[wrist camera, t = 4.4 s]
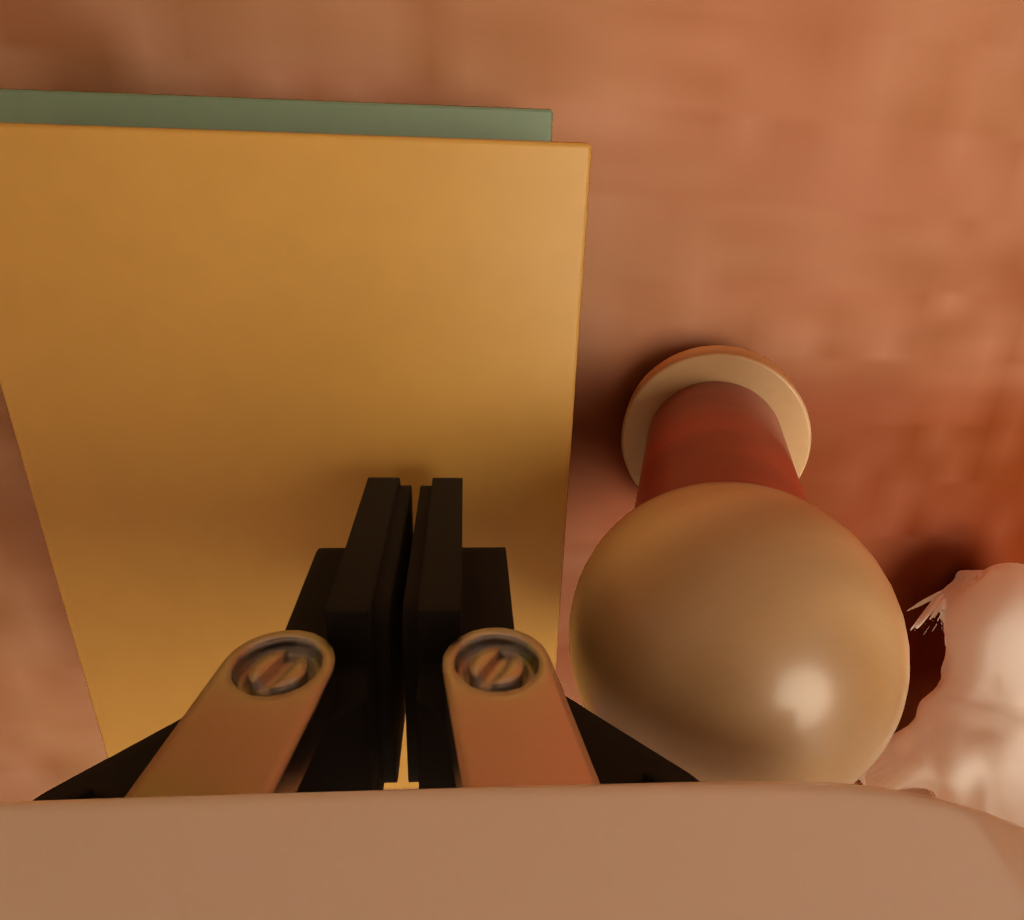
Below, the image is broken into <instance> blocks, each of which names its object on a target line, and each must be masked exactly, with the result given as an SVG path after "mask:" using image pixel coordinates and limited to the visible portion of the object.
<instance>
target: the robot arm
mask: <svg viewBox="0 0 1024 920" xmlns="http://www.w3.org/2000/svg"><path fill="white" fill-rule="evenodd" d="M462 510H463V478H433V479H432V486H425V485H421V486H420V493H419V499H418V506H417V513H416V520H415V526H414V533H413V505H412V487H411V485H401V483H400V478H398V477H369V478H368V479H367V483H366V486H365V489H364V492H363V495H362V498H361V501H360V504H359V507H358V510H357V513H356V516H355V520H354V523H353V526H352V529H351V532H350V535H349V538H348V541H347V544H346V547H345V548H319V549H318V550H317V552H316V554H315V556H314V559H313V561H312V564H311V566H310V569H309V571H308V574H307V576H306V579H305V581H304V584H303V586H302V589H301V591H300V594H299V597H298V599H297V602H296V604H295V607H294V609H293V612H292V614H291V617H290V619H289V622H288V624H287V627H286V629H285V630H282V631H277V632H272V633H267V634H264V635H261V636H259V637H256V638H253V639H251V640H249V641H247V642H245V643H244V644H242V645H241V646H239V647H237V648H236V649H234V650H233V651H232V653H231V654H230V655H229V656H228V657H227V658H226V659H225V660H224V661H223V662H222V664H221V665H220V666H219V668H218V669H217V671H216V672H215V673H214V675H213V676H212V677H211V679H210V680H209V682H208V683H207V684H206V686H205V687H204V688H203V690H202V691H201V693H200V694H199V695H198V697H197V698H196V699H195V701H194V702H193V704H192V705H191V706H190V708H189V709H188V710H187V712H186V713H185V715H184V716H183V717H182V718H181V719H179V720H177V721H176V722H174V723H172V724H170V725H168V726H166V727H165V728H163V729H161V730H159V731H157V732H155V733H154V734H152V735H150V736H148V737H146V738H144V739H143V740H141V741H139V742H137V743H135V744H133V745H131V746H130V747H128V748H126V749H124V750H122V751H120V752H119V753H117V754H115V755H113V756H111V757H109V758H108V759H106V760H104V761H102V762H100V763H98V764H97V765H95V766H93V767H91V768H89V769H87V770H85V771H84V772H82V773H80V774H78V775H76V776H74V777H73V778H71V779H69V780H67V781H65V782H63V783H62V784H60V785H58V786H56V787H54V788H52V789H51V790H49V791H47V792H45V793H43V794H42V795H40V796H39V797H37V798H36V799H34V800H33V801H14V802H0V920H1024V827H1022V826H1019V825H1017V824H1015V823H1013V822H1010V821H1008V820H1005V819H1002V818H1000V817H997V816H994V815H991V814H989V813H986V812H983V811H980V810H977V809H973V808H970V807H966V806H963V805H959V804H956V803H952V802H949V801H945V800H942V799H938V798H935V797H931V796H928V795H922V794H917V793H911V792H906V791H900V790H894V789H889V788H883V787H878V786H868V785H857V784H845V783H833V782H787V781H707V782H700V781H699V780H697V779H696V778H695V777H694V776H692V775H691V774H690V773H688V772H686V771H685V770H683V769H682V768H680V767H678V766H677V765H675V764H674V763H672V762H670V761H669V760H667V759H666V758H664V757H662V756H661V755H659V754H658V753H656V752H654V751H653V750H651V749H650V748H648V747H646V746H645V745H643V744H642V743H640V742H638V741H637V740H635V739H634V738H632V737H630V736H629V735H627V734H625V733H624V732H622V731H621V730H619V729H617V728H616V727H614V726H613V725H611V724H609V723H608V722H606V721H605V720H603V719H601V718H600V717H598V716H597V715H595V714H593V713H592V712H590V711H589V710H587V709H585V708H584V707H582V706H581V705H579V704H577V703H576V702H574V701H573V700H571V699H569V698H568V697H566V696H565V694H564V691H563V689H562V686H561V684H560V681H559V679H558V676H557V674H556V671H555V669H554V666H553V664H552V661H551V659H550V656H549V654H548V653H547V651H546V650H545V648H544V647H543V645H542V644H541V643H539V642H538V641H537V640H536V639H534V638H533V637H532V636H529V635H527V634H525V633H522V632H520V631H517V630H514V621H513V611H512V602H511V592H510V583H509V573H508V564H507V554H506V548H505V547H462ZM405 714H406V736H407V762H408V781H409V782H419V789H402V790H383V789H384V783H397V781H398V775H399V767H400V758H401V749H402V740H403V731H404V722H405Z"/></svg>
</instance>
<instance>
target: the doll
mask: <svg viewBox="0 0 1024 920" xmlns="http://www.w3.org/2000/svg"><path fill="white" fill-rule="evenodd" d="M621 446H622V454H623V458H624V462H625V465H626V467H627V470H628V472H629V474H630V476H631V478H632V479H633V481H634V483H635V484H636V485H637V487H638V492H637V498H636V503H635V509H634V510H632V511H631V512H629V513H628V514H627V515H626V516H624V517H623V518H622V519H621V520H620V521H618V522H617V523H616V524H615V525H614V526H613V527H612V528H611V529H610V530H609V531H608V533H607V534H606V535H605V536H604V537H603V539H602V540H601V541H600V542H599V544H598V545H597V546H596V548H595V550H594V551H593V553H592V555H591V556H590V558H589V560H588V561H587V563H586V565H585V567H584V569H583V571H582V574H581V576H580V578H579V581H578V584H577V587H576V591H575V594H574V598H573V603H572V608H571V614H570V635H569V649H570V655H571V661H572V667H573V673H574V678H575V681H576V684H577V687H578V690H579V692H580V695H581V698H582V701H583V703H584V706H585V708H586V709H587V710H589V711H590V712H592V713H593V714H595V715H597V716H598V717H600V718H601V719H603V720H605V721H606V722H608V723H609V724H611V725H613V726H614V727H616V728H617V729H619V730H621V731H622V732H624V733H625V734H627V735H629V736H630V737H632V738H634V739H635V740H637V741H638V742H640V743H642V744H643V745H645V746H646V747H648V748H650V749H651V750H653V751H654V752H656V753H658V754H659V755H661V756H662V757H664V758H666V759H667V760H669V761H670V762H672V763H674V764H675V765H677V766H678V767H680V768H682V769H683V770H685V771H686V772H688V773H690V774H691V775H692V776H694V777H695V778H696V779H697V780H699V781H700V782H707V781H787V782H833V783H845V784H853V783H855V782H856V781H857V780H858V779H859V778H861V777H862V776H863V775H864V774H865V773H866V772H867V771H868V770H869V769H870V768H871V767H872V766H873V765H874V763H875V762H876V761H877V760H878V759H879V757H880V756H881V754H882V753H883V752H884V750H885V749H886V747H887V745H888V743H889V742H890V740H891V738H892V736H893V734H894V732H895V730H896V728H897V726H898V724H899V721H900V719H901V716H902V713H903V710H904V706H905V702H906V697H907V692H908V687H909V680H910V646H909V641H908V636H907V631H906V626H905V621H904V616H903V613H902V611H901V608H900V606H899V603H898V601H897V598H896V595H895V593H894V590H893V588H892V585H891V584H890V582H889V581H888V579H887V577H886V576H885V574H884V572H883V571H882V569H881V567H880V566H879V564H878V563H877V561H876V560H875V558H874V557H873V556H872V554H871V553H870V552H869V551H868V550H867V549H866V547H865V546H864V545H863V544H862V543H861V542H860V541H859V540H858V539H857V538H856V537H855V535H854V534H853V533H852V532H851V531H849V530H848V529H847V528H846V527H845V526H843V525H842V524H841V523H840V522H839V521H837V520H836V519H835V518H833V517H832V516H830V515H829V514H827V513H826V512H825V511H823V510H821V509H820V508H818V507H816V506H815V505H813V504H811V503H809V502H807V501H806V499H805V496H804V493H803V490H802V487H801V484H800V481H799V477H800V476H801V474H802V472H803V470H804V468H805V466H806V463H807V460H808V457H809V454H810V447H811V425H810V419H809V416H808V412H807V409H806V407H805V405H804V402H803V400H802V398H801V396H800V394H799V392H798V390H797V388H796V387H795V385H794V384H793V382H792V381H791V379H790V378H789V377H788V376H787V375H786V374H785V373H784V371H783V370H782V369H780V368H779V367H778V366H777V365H776V364H774V363H773V362H772V361H770V360H768V359H767V358H765V357H763V356H762V355H759V354H757V353H755V352H752V351H750V350H746V349H743V348H739V347H733V346H726V345H710V346H701V347H696V348H692V349H688V350H685V351H683V352H680V353H677V354H675V355H673V356H671V357H669V358H667V359H666V360H664V361H663V362H661V363H660V364H658V365H657V366H656V367H654V368H653V369H652V370H651V371H650V372H649V373H648V374H647V375H646V376H645V377H644V378H643V379H642V381H641V382H640V383H639V385H638V386H637V388H636V389H635V391H634V393H633V395H632V397H631V399H630V401H629V404H628V407H627V410H626V413H625V417H624V421H623V426H622V432H621Z"/></svg>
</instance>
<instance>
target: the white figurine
mask: <svg viewBox="0 0 1024 920" xmlns="http://www.w3.org/2000/svg"><path fill="white" fill-rule="evenodd" d="M929 601H931V602H930V603H929V605H928V606H927V607H926V609H925V610H924V611H923V613H922V614H921V615H920V617H919V618H918V619H917V621H916V622H915V623H914V625H913V626H912V627H911V629H910V631H911V630H912V629H913V628H914V627H915V626H916V627H917V628H916V627H915V628H916V629H918V628H919V627H920V626H921V625H922V624H923V623H924V621H925V620H926V619H927V618H928V617H929V616H930V615H931V616H930V618H929V620H931V619H932V618H933V617H934V618H935V617H936V616H935V615H937V614H938V613H939V612H940V616H939V618H938V619H937V621H938V620H939V619H940V620H942V621H943V623H944V625H943V627H944V634H945V637H944V639H945V646H946V653H945V658H944V661H943V664H942V667H941V679H940V681H939V683H938V685H937V686H936V688H935V689H934V690H933V691H931V692H930V693H929V694H928V695H926V696H925V697H924V698H923V699H922V700H921V701H920V703H919V705H918V708H917V712H916V717H915V719H914V720H913V721H912V722H911V723H910V724H909V725H908V726H906V727H905V728H903V729H901V730H899V731H897V732H895V733H894V734H893V736H892V738H891V740H890V742H889V743H888V745H887V747H886V749H885V750H884V752H883V753H882V754H881V756H880V757H879V759H878V760H877V761H876V762H875V763H874V765H873V766H872V767H871V768H870V769H869V770H868V771H867V772H866V773H865V774H864V775H863V776H862V777H861V778H859V780H860V781H861V783H862V784H863V785H868V786H878V787H883V788H889V789H894V790H900V791H906V792H911V793H917V794H922V795H928V796H931V795H930V793H929V792H928V790H930V791H932V792H933V793H934V794H935V795H936V797H935V798H938V799H942V800H945V801H949V802H952V803H956V804H959V805H963V806H966V807H970V808H973V809H977V810H980V811H983V812H986V813H989V814H991V815H994V816H997V817H1000V818H1002V819H1005V820H1008V821H1010V822H1013V823H1015V824H1017V825H1019V826H1022V827H1024V564H1020V563H1000V564H996V565H993V566H990V567H988V568H986V569H984V570H960V571H958V572H957V573H956V575H955V578H954V580H953V581H952V582H951V583H949V584H948V585H947V586H946V587H945V588H944V589H943V590H941V591H939V592H937V593H935V594H933V595H931V596H929V597H927V598H925V599H923V600H921V601H920V602H918V603H917V604H915V605H914V606H913V607H911V608H909V609H908V610H907V612H908V611H910V610H912V609H914V608H917V607H919V606H921V605H923V604H925V603H927V602H929ZM932 612H933V613H932ZM931 613H932V614H931ZM932 621H933V620H932ZM925 625H926V623H925ZM941 625H942V622H941ZM936 626H937V624H936ZM936 626H935V627H936ZM935 627H934V629H935ZM922 628H923V627H922ZM941 628H942V627H941ZM927 629H928V628H927ZM932 631H933V630H932ZM925 632H926V631H925ZM923 635H924V634H923ZM931 797H932V796H931Z"/></svg>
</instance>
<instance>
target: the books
mask: <svg viewBox="0 0 1024 920" xmlns="http://www.w3.org/2000/svg"><path fill="white" fill-rule="evenodd" d="M552 119H553V113H552V110H550V109H530V108H503V107H477V106H451V105H424V104H398V103H371V102H345V101H319V100H292V99H266V98H240V97H213V96H187V95H160V94H134V93H108V92H81V91H55V90H29V89H2V88H0V385H1V388H2V392H3V395H4V399H5V402H6V406H7V409H8V413H9V416H10V420H11V423H12V427H13V430H14V434H15V437H16V441H17V444H18V448H19V451H20V454H21V458H22V461H23V465H24V468H25V472H26V475H27V479H28V482H29V486H30V489H31V493H32V496H33V500H34V503H35V507H36V510H37V514H38V517H39V520H40V524H41V527H42V531H43V534H44V538H45V541H46V545H47V548H48V552H49V555H50V559H51V562H52V566H53V569H54V573H55V576H56V580H57V583H58V587H59V590H60V593H61V597H62V600H63V604H64V607H65V611H66V614H67V618H68V621H69V625H70V628H71V632H72V635H73V639H74V642H75V646H76V649H77V653H78V656H79V660H80V663H81V666H82V670H83V673H84V677H85V680H86V684H87V687H88V691H89V694H90V698H91V701H92V705H93V708H94V712H95V715H96V719H97V722H98V726H99V729H100V733H101V736H102V739H103V743H104V746H105V750H106V753H107V757H108V758H109V757H111V756H113V755H115V754H117V753H119V752H120V751H122V750H124V749H126V748H128V747H130V746H131V745H133V744H135V743H137V742H139V741H141V740H143V739H144V738H146V737H148V736H150V735H152V734H154V733H155V732H157V731H159V730H161V729H163V728H165V727H166V726H168V725H170V724H172V723H174V722H176V721H177V720H179V719H181V718H182V717H183V716H184V715H185V713H186V712H187V710H188V709H189V708H190V706H191V705H192V704H193V702H194V701H195V699H196V698H197V697H198V695H199V694H200V693H201V691H202V690H203V688H204V687H205V686H206V684H207V683H208V682H209V680H210V679H211V677H212V676H213V675H214V673H215V672H216V671H217V669H218V668H219V666H220V665H221V664H222V662H223V661H224V660H225V659H226V658H227V657H228V656H229V655H230V654H231V653H232V651H233V650H234V649H236V648H237V647H239V646H241V645H242V644H244V643H245V642H247V641H249V640H251V639H253V638H256V637H259V636H261V635H264V634H267V633H272V632H277V631H282V630H285V629H286V627H287V624H288V622H289V619H290V617H291V614H292V612H293V609H294V607H295V604H296V602H297V599H298V597H299V594H300V591H301V589H302V586H303V584H304V581H305V579H306V576H307V574H308V571H309V569H310V566H311V564H312V561H313V559H314V556H315V554H316V552H317V550H318V549H319V548H345V547H346V544H347V541H348V538H349V535H350V532H351V529H352V526H353V523H354V520H355V516H356V513H357V510H358V507H359V504H360V501H361V498H362V495H363V492H364V489H365V486H366V483H367V479H368V478H369V477H398V478H400V483H401V485H411V487H412V505H413V533H414V526H415V520H416V513H417V506H418V499H419V493H420V486H421V485H425V486H432V479H433V478H463V510H462V547H505V548H506V554H507V564H508V573H509V583H510V592H511V602H512V611H513V621H514V630H517V631H520V632H522V633H525V634H527V635H529V636H532V637H533V638H534V639H536V640H537V641H538V642H539V643H541V644H542V645H543V647H544V648H545V650H546V651H547V653H548V654H549V656H550V659H551V661H552V664H553V666H554V669H555V671H556V658H557V644H558V629H559V615H560V600H561V585H562V571H563V556H564V542H565V527H566V512H567V498H568V483H569V469H570V454H571V440H572V425H573V410H574V396H575V381H576V367H577V352H578V337H579V323H580V308H581V294H582V279H583V265H584V250H585V235H586V221H587V206H588V192H589V177H590V162H591V146H590V144H588V143H582V142H553V141H551V140H552ZM406 788H419V782H409V781H408V762H407V736H406V714H405V722H404V731H403V740H402V749H401V758H400V767H399V775H398V781H397V783H384V789H406Z"/></svg>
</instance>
